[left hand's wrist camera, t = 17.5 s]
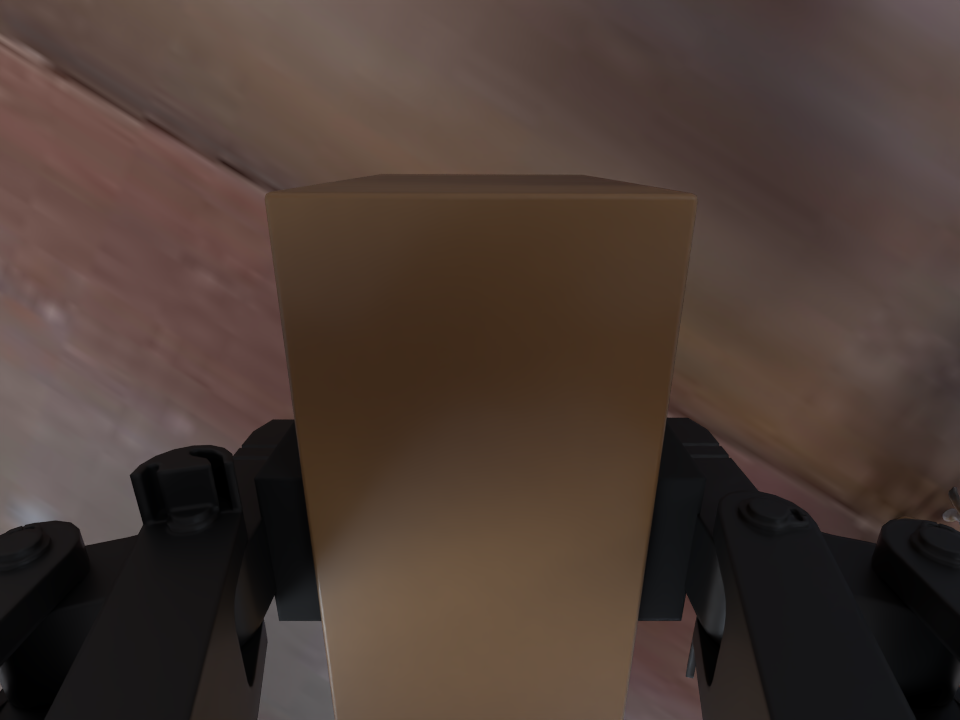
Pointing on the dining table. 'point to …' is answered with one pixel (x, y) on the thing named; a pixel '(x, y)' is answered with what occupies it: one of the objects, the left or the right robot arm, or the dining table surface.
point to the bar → (480, 431)
